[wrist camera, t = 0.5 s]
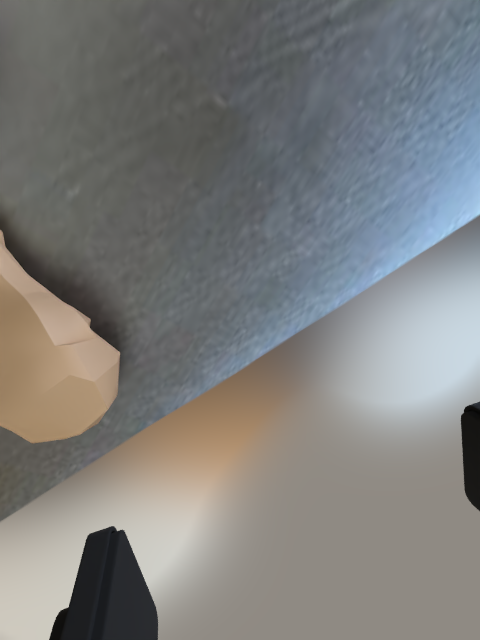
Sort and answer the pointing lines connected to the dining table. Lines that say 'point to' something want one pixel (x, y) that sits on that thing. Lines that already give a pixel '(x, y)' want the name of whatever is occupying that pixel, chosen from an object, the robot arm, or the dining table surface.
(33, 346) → the squash
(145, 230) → the dining table surface
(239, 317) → the dining table surface
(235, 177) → the dining table surface
